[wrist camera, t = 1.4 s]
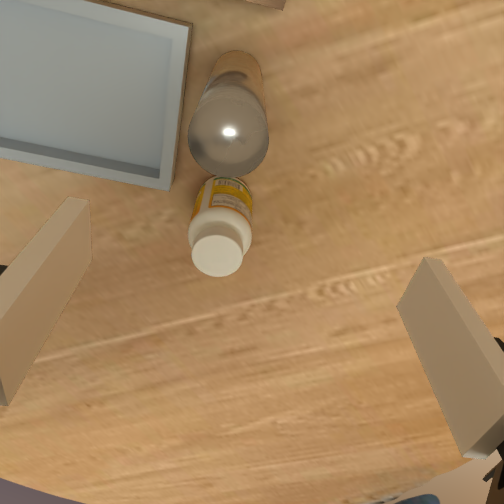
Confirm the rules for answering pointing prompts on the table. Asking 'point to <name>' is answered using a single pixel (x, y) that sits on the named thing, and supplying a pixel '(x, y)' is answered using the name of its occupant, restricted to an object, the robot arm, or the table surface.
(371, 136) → the table surface
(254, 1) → the wooden peg board
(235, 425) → the table surface
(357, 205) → the table surface
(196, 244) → the supplement bottle
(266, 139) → the cylinder
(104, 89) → the tray
